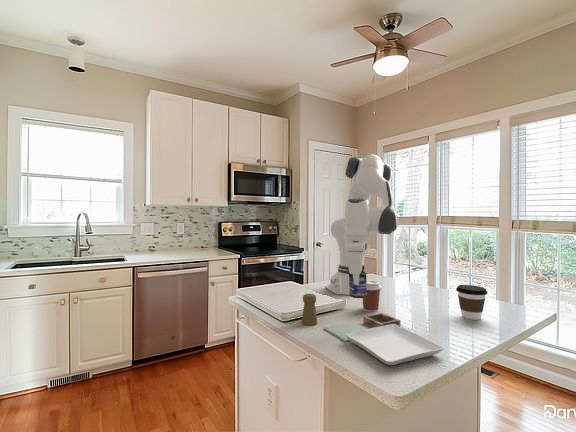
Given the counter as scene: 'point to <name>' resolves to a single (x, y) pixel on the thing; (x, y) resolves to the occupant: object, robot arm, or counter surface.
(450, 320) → the counter surface
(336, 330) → the sage mat
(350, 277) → the pill bottle
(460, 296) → the coffee cup
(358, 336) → the salad plate
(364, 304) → the coffee cup
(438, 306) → the counter surface
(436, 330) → the counter surface
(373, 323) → the walnut collar
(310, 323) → the cork
